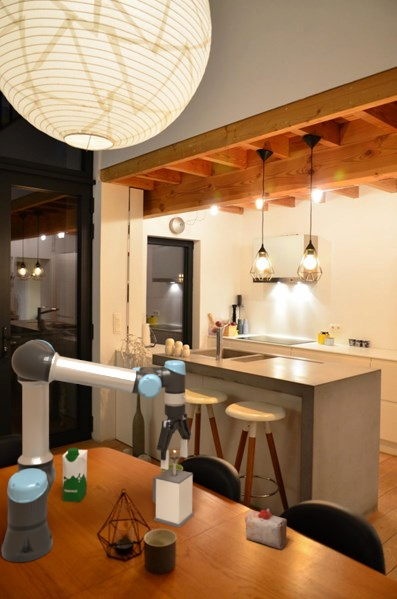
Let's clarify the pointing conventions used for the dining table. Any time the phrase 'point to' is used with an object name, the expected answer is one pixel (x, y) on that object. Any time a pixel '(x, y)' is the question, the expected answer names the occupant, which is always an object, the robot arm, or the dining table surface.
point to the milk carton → (74, 475)
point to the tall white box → (173, 497)
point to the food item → (266, 528)
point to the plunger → (174, 457)
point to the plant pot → (178, 467)
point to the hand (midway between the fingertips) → (174, 462)
